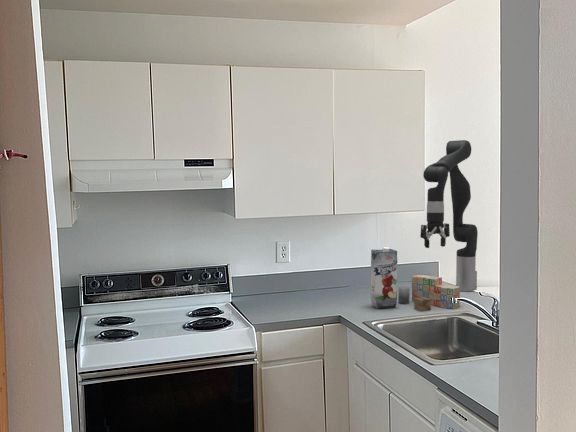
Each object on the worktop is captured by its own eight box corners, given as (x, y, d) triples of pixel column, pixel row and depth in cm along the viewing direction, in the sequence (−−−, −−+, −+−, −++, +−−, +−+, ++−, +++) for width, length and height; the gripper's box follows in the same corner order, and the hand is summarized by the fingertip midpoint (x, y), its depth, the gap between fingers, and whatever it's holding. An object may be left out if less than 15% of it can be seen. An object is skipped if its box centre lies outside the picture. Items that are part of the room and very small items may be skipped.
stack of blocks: (460, 307, 267) (460, 279, 266) (452, 309, 263) (453, 282, 262) (418, 299, 282) (419, 273, 281) (411, 302, 278) (411, 275, 277)
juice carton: (368, 305, 272) (369, 246, 269) (389, 303, 275) (390, 245, 272) (377, 309, 263) (377, 248, 261) (399, 307, 266) (399, 247, 264)
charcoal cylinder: (405, 301, 279) (405, 286, 278) (411, 303, 274) (411, 288, 274) (396, 302, 277) (396, 287, 276) (402, 304, 272) (402, 289, 272)
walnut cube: (423, 308, 266) (423, 296, 266) (430, 310, 262) (430, 299, 261) (414, 309, 264) (414, 298, 264) (421, 311, 260) (421, 300, 259)
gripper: (442, 210, 275) (442, 245, 277) (417, 211, 269) (416, 247, 271) (453, 211, 268) (453, 247, 270) (427, 212, 263) (427, 249, 264)
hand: (434, 247), depth 270 cm, fingers open, 8 cm apart
